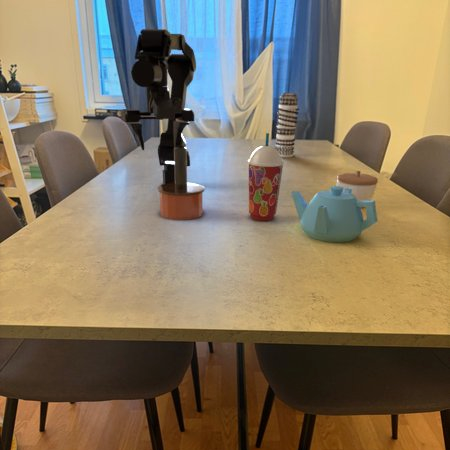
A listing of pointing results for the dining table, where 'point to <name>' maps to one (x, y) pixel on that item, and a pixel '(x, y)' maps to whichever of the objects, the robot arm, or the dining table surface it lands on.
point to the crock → (181, 206)
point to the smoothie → (264, 182)
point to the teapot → (334, 215)
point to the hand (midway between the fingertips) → (159, 149)
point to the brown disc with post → (180, 177)
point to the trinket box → (358, 184)
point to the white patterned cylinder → (286, 124)
